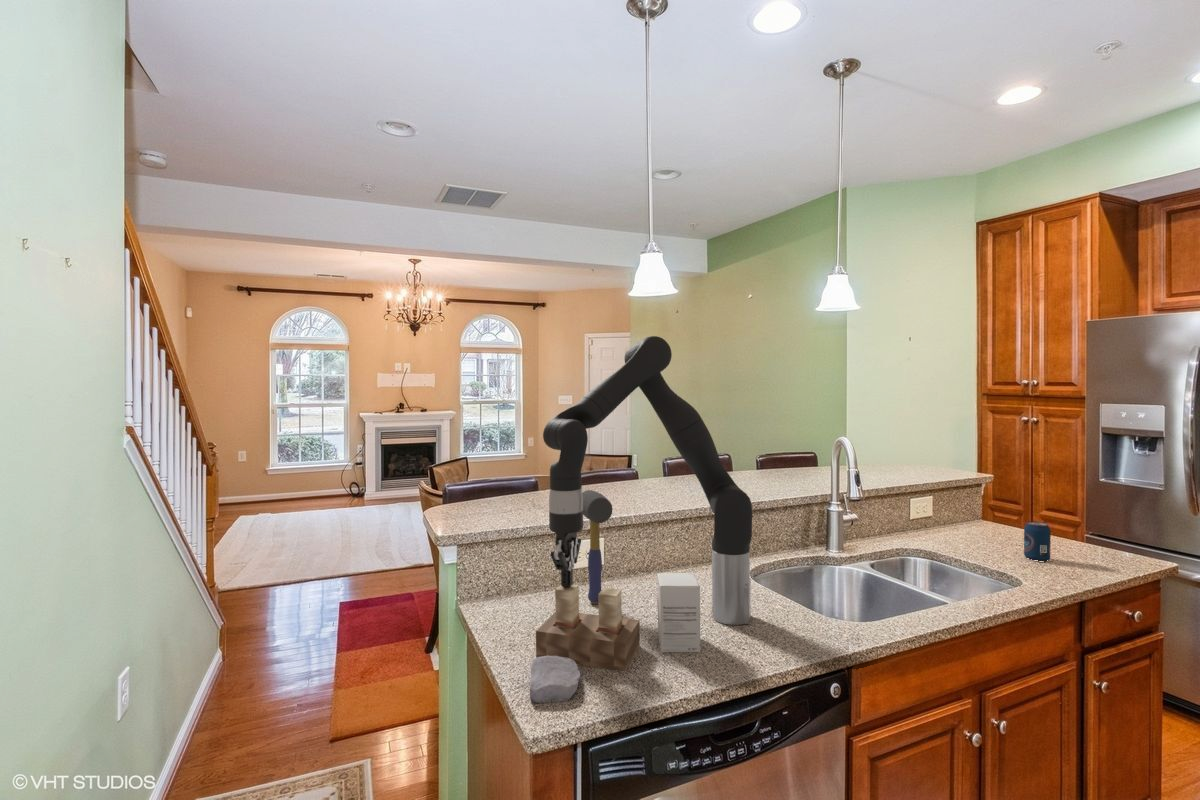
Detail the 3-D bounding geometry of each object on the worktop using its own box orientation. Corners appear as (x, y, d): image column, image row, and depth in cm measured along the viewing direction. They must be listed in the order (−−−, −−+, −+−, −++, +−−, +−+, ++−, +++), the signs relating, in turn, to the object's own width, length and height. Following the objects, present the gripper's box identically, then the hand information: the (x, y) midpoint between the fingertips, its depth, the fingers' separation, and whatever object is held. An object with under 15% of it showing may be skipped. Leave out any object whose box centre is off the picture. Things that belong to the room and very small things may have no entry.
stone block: (575, 679, 120) (527, 672, 119) (580, 657, 120) (532, 650, 119) (579, 713, 108) (526, 706, 107) (583, 689, 108) (531, 682, 107)
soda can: (1019, 556, 194) (1019, 520, 194) (1042, 556, 193) (1042, 521, 193) (1031, 562, 187) (1032, 525, 187) (1055, 563, 186) (1055, 526, 186)
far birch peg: (579, 641, 131) (579, 584, 130) (573, 650, 127) (572, 591, 126) (562, 639, 132) (561, 583, 132) (555, 647, 128) (554, 589, 128)
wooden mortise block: (639, 646, 130) (639, 620, 130) (625, 671, 119) (625, 643, 119) (557, 635, 137) (557, 610, 136) (536, 658, 125) (535, 630, 125)
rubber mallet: (615, 609, 152) (614, 495, 151) (588, 612, 150) (586, 497, 149) (602, 593, 164) (600, 487, 163) (576, 596, 162) (575, 489, 161)
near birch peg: (622, 647, 127) (621, 589, 127) (617, 656, 123) (616, 596, 123) (604, 645, 129) (603, 587, 128) (598, 653, 125) (597, 594, 124)
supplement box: (657, 635, 136) (656, 571, 136) (695, 635, 136) (695, 571, 136) (659, 653, 127) (659, 585, 127) (700, 653, 127) (700, 585, 126)
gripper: (571, 516, 121) (572, 598, 121) (591, 503, 134) (592, 578, 134) (538, 514, 123) (539, 594, 124) (561, 502, 136) (562, 575, 136)
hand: (567, 586), depth 129 cm, fingers closed
